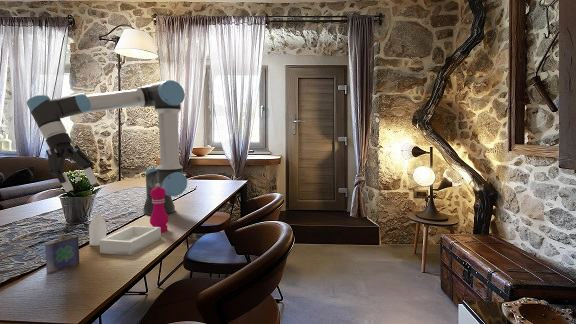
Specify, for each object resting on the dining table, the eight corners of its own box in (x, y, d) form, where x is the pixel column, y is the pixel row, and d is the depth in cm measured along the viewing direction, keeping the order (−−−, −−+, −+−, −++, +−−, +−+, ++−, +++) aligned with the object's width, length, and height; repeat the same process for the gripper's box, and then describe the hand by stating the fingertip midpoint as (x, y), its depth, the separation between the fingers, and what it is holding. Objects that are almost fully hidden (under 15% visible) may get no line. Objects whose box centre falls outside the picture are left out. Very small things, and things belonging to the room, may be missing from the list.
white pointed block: (87, 210, 126) (105, 208, 129) (89, 242, 127) (106, 239, 130) (88, 214, 121) (105, 212, 123) (89, 246, 122) (107, 244, 125)
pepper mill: (162, 234, 137) (160, 185, 135) (146, 232, 138) (144, 184, 136) (172, 228, 144) (170, 182, 142) (156, 227, 145) (155, 181, 143)
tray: (133, 236, 133) (132, 225, 133) (160, 238, 131) (160, 227, 131) (100, 253, 115) (99, 240, 115) (131, 255, 113) (131, 242, 113)
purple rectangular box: (49, 274, 98) (47, 238, 97) (44, 272, 100) (41, 237, 99) (81, 263, 106) (79, 230, 105) (76, 261, 108) (74, 229, 107)
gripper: (71, 138, 139) (95, 184, 141) (19, 142, 115) (48, 198, 116) (87, 130, 138) (110, 177, 140) (36, 133, 114) (66, 189, 115)
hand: (82, 186), depth 128 cm, fingers open, 13 cm apart
